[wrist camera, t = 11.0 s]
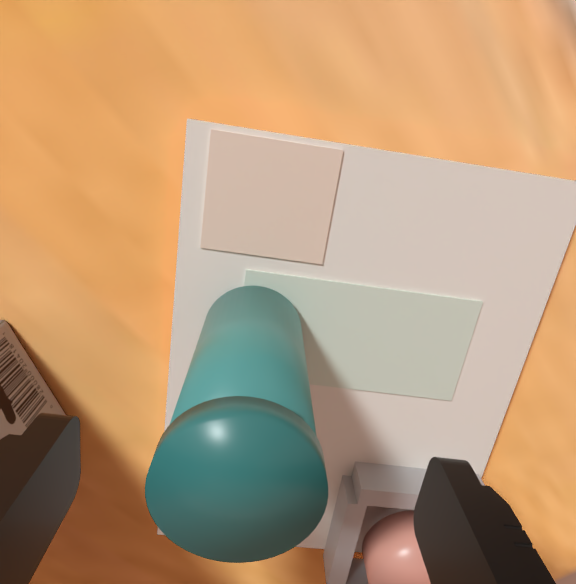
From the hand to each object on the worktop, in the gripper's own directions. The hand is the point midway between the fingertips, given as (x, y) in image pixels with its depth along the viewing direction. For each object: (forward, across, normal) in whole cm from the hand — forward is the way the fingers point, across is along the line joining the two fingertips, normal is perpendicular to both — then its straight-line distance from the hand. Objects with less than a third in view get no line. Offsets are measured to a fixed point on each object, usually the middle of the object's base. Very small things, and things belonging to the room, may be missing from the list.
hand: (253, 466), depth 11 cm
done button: (+6, -8, +9) cm, 13 cm away
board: (+8, -4, +2) cm, 9 cm away
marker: (+7, 0, 0) cm, 7 cm away
